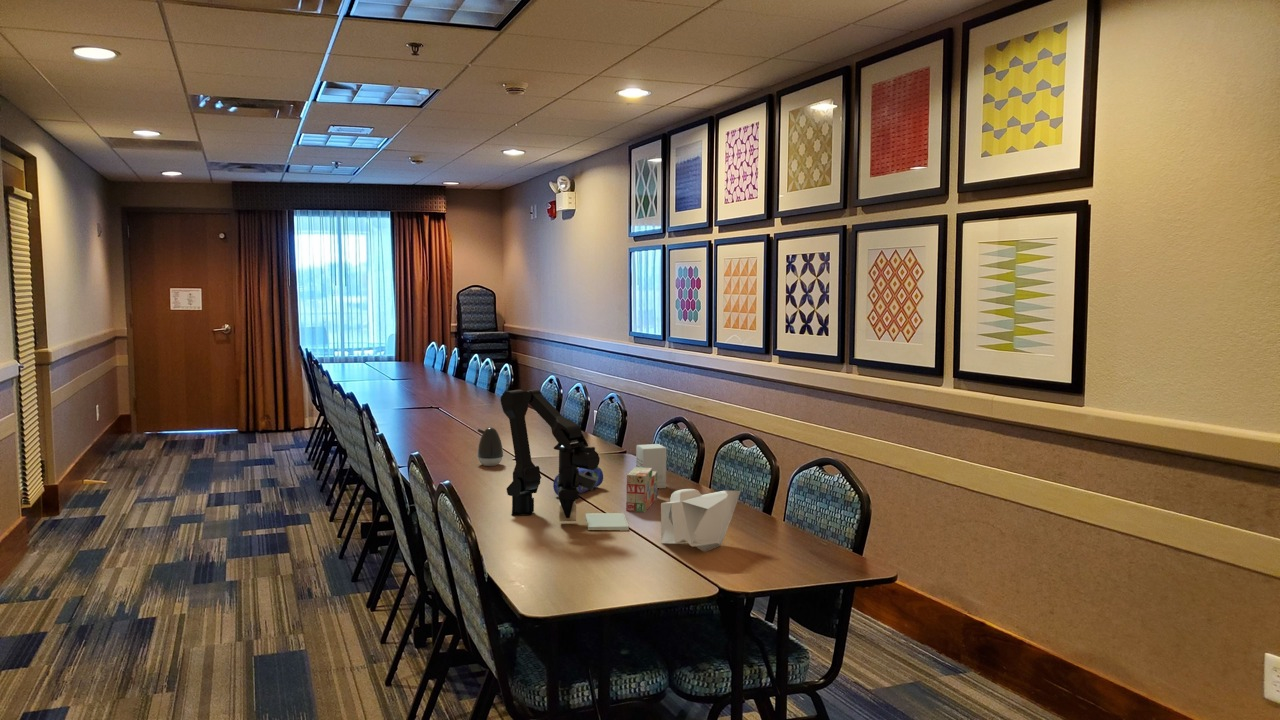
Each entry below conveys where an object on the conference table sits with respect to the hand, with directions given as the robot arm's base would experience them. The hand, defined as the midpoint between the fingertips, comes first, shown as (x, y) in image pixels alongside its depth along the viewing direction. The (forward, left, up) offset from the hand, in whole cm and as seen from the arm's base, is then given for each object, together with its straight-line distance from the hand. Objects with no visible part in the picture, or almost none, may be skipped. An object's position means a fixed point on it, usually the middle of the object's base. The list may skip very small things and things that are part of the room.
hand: (567, 515), depth 281 cm
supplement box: (+32, +51, -3) cm, 60 cm away
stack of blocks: (+26, +25, -3) cm, 36 cm away
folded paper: (+38, -26, -3) cm, 46 cm away
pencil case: (+5, +43, -3) cm, 43 cm away
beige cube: (0, 0, -1) cm, 1 cm away
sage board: (+12, 0, -3) cm, 12 cm away
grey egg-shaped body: (-28, +92, -3) cm, 96 cm away
